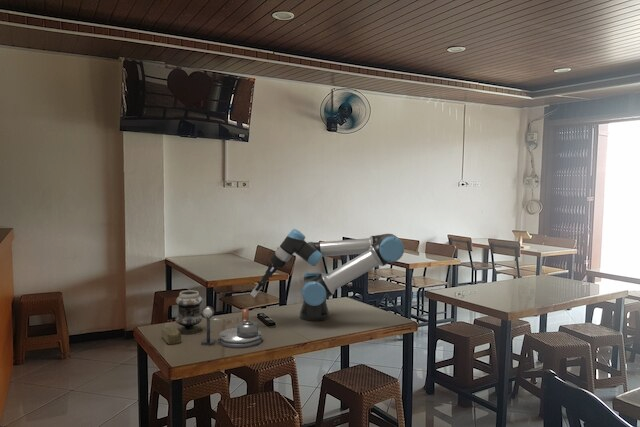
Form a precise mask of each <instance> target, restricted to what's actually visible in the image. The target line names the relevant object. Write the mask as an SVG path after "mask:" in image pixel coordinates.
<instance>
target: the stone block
mask: <svg viewBox="0 0 640 427" xmlns="http://www.w3.org/2000/svg"><path fill="white" fill-rule="evenodd" d="M161 330H162V331H161V332H162V333H161V336H162V339H163V340H164V342H166V344H167V343H168V344H167V345H176V344H175V343H177V344H181V343H182V333H180V332H179V330H178V327H176V326H167V327H162V329H161Z"/></svg>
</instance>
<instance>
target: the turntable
mask: <svg viewBox="0 0 640 427" xmlns="http://www.w3.org/2000/svg"><path fill="white" fill-rule="evenodd" d="M249 314H250V312H249V308H242V309H241V322H242V321H250V320H249V317H250V316H249ZM261 335H262V332H261V331H260V330H259V329H258V336H257V337H255V338H250V339H243V338H239V337H237V327H231V328H227V329H223V330H222V331H220V333H219V334H218V337H219V338H220V340H222V341H224V342H228V343H248V342H253V341H256V340H258V339H260V338H261Z"/></svg>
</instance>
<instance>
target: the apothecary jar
mask: <svg viewBox="0 0 640 427" xmlns="http://www.w3.org/2000/svg"><path fill="white" fill-rule="evenodd" d="M202 302H203V298H202V297H201V296H200V294H199V291H197V290H190V289H189V290H188V289H187V290H182V291H180V292H179V295H178V297H177V298H176V299H175V304H176V305H177V306H178V307H177V308H178V311H177V315H176V316H175V319H174V320H175V322H176V323H177V325H179V326H182V327H180V328H179V329H178V328H177V329H178V330H179V332H180V333H181V335H182V334H183V335H191V334H195V333H199V332H200V330H201V329H200V327H197V325H199V324H200V323H201V322H202V320H203V316H202V313H200V311H201V310H200V309H201V308H200V305H201V304H202Z"/></svg>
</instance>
